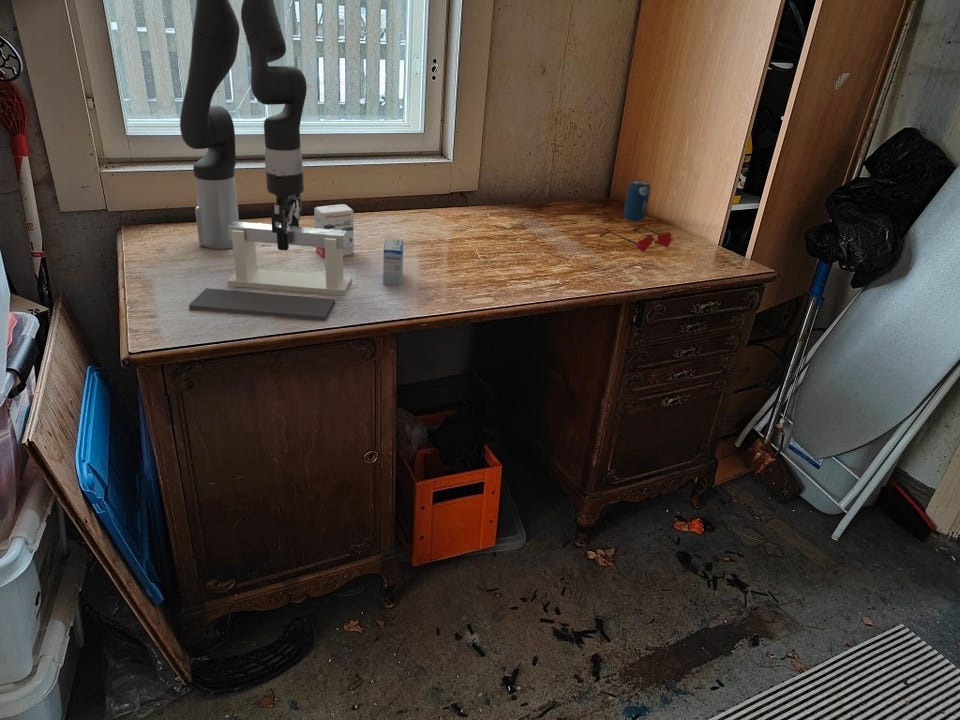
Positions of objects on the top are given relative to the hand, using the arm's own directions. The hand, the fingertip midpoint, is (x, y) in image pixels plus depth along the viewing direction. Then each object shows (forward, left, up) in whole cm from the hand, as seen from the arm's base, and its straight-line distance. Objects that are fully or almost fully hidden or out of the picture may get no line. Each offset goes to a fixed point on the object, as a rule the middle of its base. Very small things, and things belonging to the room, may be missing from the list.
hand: (289, 243), depth 152 cm
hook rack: (0, 0, -10) cm, 10 cm away
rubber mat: (-2, -13, -10) cm, 16 cm away
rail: (0, 0, 0) cm, 0 cm away
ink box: (+5, +22, -10) cm, 25 cm away
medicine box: (+22, +8, -10) cm, 25 cm away
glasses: (+87, +53, -10) cm, 102 cm away
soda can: (+90, +76, -10) cm, 118 cm away
